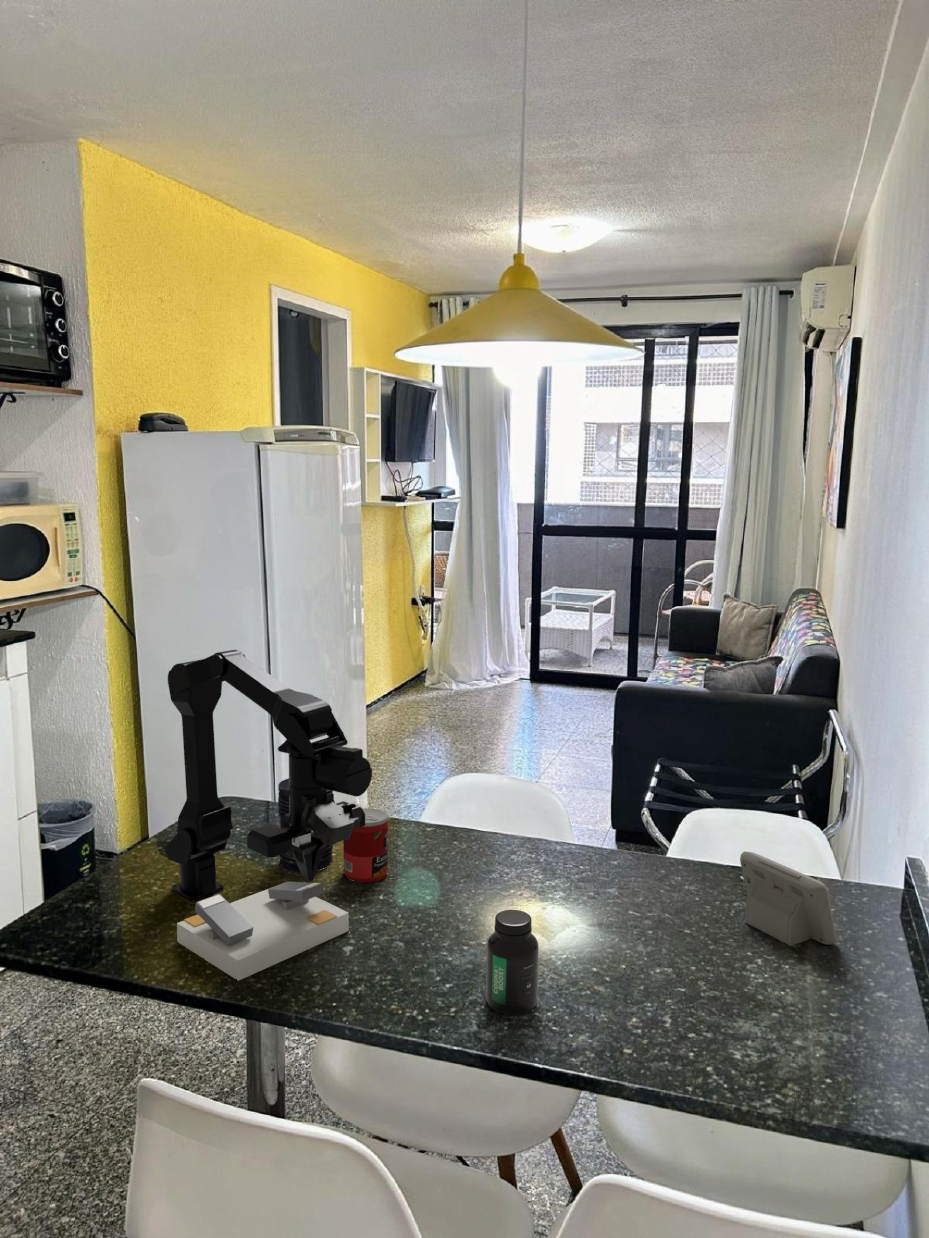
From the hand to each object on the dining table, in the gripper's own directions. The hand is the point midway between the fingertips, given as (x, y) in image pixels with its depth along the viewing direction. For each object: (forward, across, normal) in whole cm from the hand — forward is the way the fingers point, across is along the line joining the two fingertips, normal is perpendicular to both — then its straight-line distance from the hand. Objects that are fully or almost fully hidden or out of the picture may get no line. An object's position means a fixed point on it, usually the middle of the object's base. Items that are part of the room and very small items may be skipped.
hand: (309, 880), depth 138 cm
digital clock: (+8, +52, -54) cm, 75 cm away
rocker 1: (+3, -13, +4) cm, 14 cm away
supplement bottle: (+8, +6, -36) cm, 37 cm away
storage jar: (+8, +16, +21) cm, 28 cm away
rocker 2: (+3, 0, +3) cm, 4 cm away
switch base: (+8, -6, +3) cm, 11 cm away
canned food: (+8, +20, +9) cm, 24 cm away
